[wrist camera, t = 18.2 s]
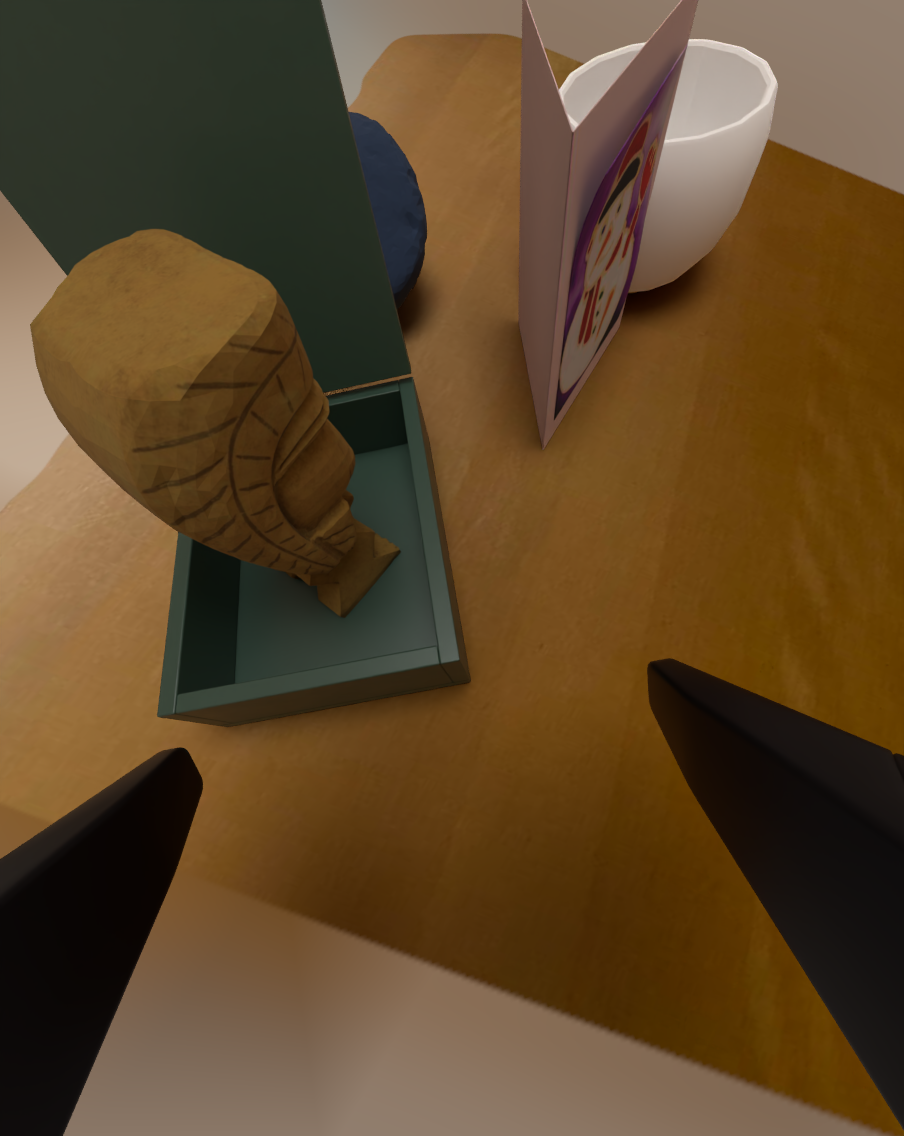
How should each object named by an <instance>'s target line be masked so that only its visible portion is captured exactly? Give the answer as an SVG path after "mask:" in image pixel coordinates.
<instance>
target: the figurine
mask: <svg viewBox="0 0 904 1136" xmlns="http://www.w3.org/2000/svg"><path fill="white" fill-rule="evenodd" d="M30 326H31V332H32V340H33V345H34V346H33V347H34V353H35V360H36V365H37V369H38V372H39V375H40V378H41V382H42V385H43V388H44V391H45V394H46V396H47V398H48V400H49V402H50V403H51V405H52V407H53V409H54V411H55V413H56V415H57V417H58V419H59V420H60V421H61V423H62V424H63V426H64V427H65V428H66V430H67V431H68V432H69V434H70V435H71V436H72V438H73V439H74V440H75V442H76V443H77V444H78V446H79V447H80V448H81V449H82V450H83V451H84V452H85V453H86V454H87V455H88V456H89V457H90V458H91V459H92V460H93V461H94V462H95V463H96V464H97V465H98V466H99V467H100V468H101V469H102V470H103V471H104V472H105V473H106V474H107V475H108V476H109V477H111V478H112V479H113V480H114V481H115V482H116V483H117V484H118V485H119V486H120V487H121V488H122V489H123V490H124V491H126V492H127V493H128V494H129V495H130V496H132V497H133V498H134V499H135V500H136V501H138V502H139V503H140V504H141V505H143V506H144V507H145V508H146V509H148V510H149V511H150V512H152V513H153V514H154V515H155V516H157V517H158V518H159V519H161V520H162V521H164V522H165V523H166V524H168V525H169V526H170V527H172V528H173V529H175V530H176V531H178V532H180V533H182V534H184V535H186V536H188V537H190V538H192V539H194V540H196V541H198V542H200V543H202V544H204V545H206V546H208V547H210V548H212V549H215V550H217V551H220V552H222V553H225V554H228V555H230V556H233V557H236V558H238V559H240V560H242V561H246V562H249V563H253V564H256V565H260V566H263V567H267V568H271V569H275V570H279V571H284V572H286V573H287V574H288V575H289V576H290V577H292V578H295V579H298V578H299V577H300V578H301V579H302V580H303V581H304V582H305V583H307V584H308V585H309V586H316V585H317V591H318V600H319V601H321V602H322V603H323V604H325V605H326V606H327V607H329V608H330V609H331V610H332V611H334V612H335V613H336V614H337V615H339V616H340V617H343V618H345V617H346V616H347V615H348V614H349V613H350V612H351V611H352V609H353V608H354V607H355V606H356V605H357V604H358V603H359V601H360V600H361V599H362V598H363V597H364V596H365V595H366V593H367V592H368V591H369V590H370V589H371V587H372V586H373V585H374V584H375V583H376V581H377V580H378V579H379V578H380V577H381V576H382V574H383V573H384V572H385V571H386V569H387V568H388V567H389V565H390V564H391V563H392V561H393V560H394V559H395V558H396V557H397V556H398V555H399V554H400V552H401V551H400V549H399V548H398V547H397V546H395V545H394V544H393V543H390V542H389V541H388V540H387V539H386V538H381V537H380V536H379V535H378V534H377V533H376V534H375V532H374V531H373V530H372V529H371V528H369V527H367V526H366V525H364V524H362V523H361V522H359V521H358V520H356V519H355V518H353V516H352V513H351V510H350V508H351V505H352V502H353V500H354V497H353V495H352V494H351V493H350V492H349V491H347V490H346V488H347V486H348V484H349V482H350V478H351V476H352V474H353V471H354V467H355V455H354V452H353V450H352V448H351V447H350V446H349V444H348V443H347V442H346V441H345V439H344V438H343V437H342V435H341V434H340V432H339V431H338V430H337V429H336V428H335V427H334V426H333V425H332V423H331V422H330V421H329V420H328V419H327V417H328V415H329V400H328V399H327V397H326V396H325V395H324V393H323V392H322V389H321V387H320V386H319V384H318V382H317V381H316V380H315V379H314V378H313V371H312V368H311V365H310V362H309V360H308V357H307V354H306V352H305V349H304V347H303V344H302V342H301V339H300V337H299V334H298V332H297V330H296V327H295V325H294V322H293V320H292V318H291V315H290V313H289V311H288V308H287V306H286V305H285V303H284V302H283V300H282V298H281V297H280V295H279V294H278V292H277V291H276V289H275V288H274V287H273V285H272V284H271V282H270V281H269V280H267V279H266V278H265V277H263V276H262V275H260V274H258V273H257V272H255V271H253V270H251V269H248V268H246V267H244V266H243V265H241V264H238V263H236V262H234V261H231V260H228V259H226V258H223V257H221V256H220V255H217V254H215V253H213V252H211V251H209V250H207V249H205V248H203V247H201V246H200V245H198V244H197V243H195V242H193V241H191V240H189V239H186V238H184V237H183V236H181V235H179V234H176V233H174V232H171V231H167V230H164V229H148V230H141V231H136V232H135V233H134V234H132V235H131V236H130V237H126V238H123V239H119V240H117V241H115V242H112V243H110V244H108V245H105V246H104V247H102V248H100V249H98V250H96V251H94V252H92V253H90V254H89V255H88V256H86V257H85V258H84V259H82V260H81V261H80V262H78V263H77V264H75V266H74V267H73V269H72V270H71V272H70V273H69V275H68V276H67V278H66V279H65V280H64V281H63V282H62V283H61V284H60V285H59V286H58V287H57V289H56V291H55V293H54V295H53V296H52V298H51V299H50V300H49V301H48V303H47V304H46V305H45V306H44V308H43V309H42V310H41V312H40V313H39V314H38V315H37V317H36V318H35V319H34V320H33V322H32V323H31V324H30Z"/></svg>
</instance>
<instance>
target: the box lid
mask: <svg viewBox="0 0 904 1136" xmlns="http://www.w3.org/2000/svg"><path fill="white" fill-rule="evenodd" d="M0 191H1V192H2V193H3V195H4V196H5V197H6V198H7V200H9V202H10V203H11V205H12V206H13V207H14V208H15V210H16V211H17V212H18V214H19V215H20V216H21V217H22V219H23V220H24V221H25V222H26V224H27V225H28V226H29V228H30V229H31V230H32V231H33V233H34V234H35V235H36V237H37V238H38V239H39V240H40V242H41V243H42V244H43V245H44V247H45V248H46V249H47V251H48V252H49V253H50V254H51V255H52V257H53V258H54V259H55V261H56V262H57V263H58V265H59V266H60V267H61V268H62V270H63V271H64V272H65V273H66V275H67V276H68V275H69V273H70V272H71V270H72V269H73V267H74V266H75V264H77V263H78V262H80V261H81V260H82V259H84V258H85V257H86V256H88V255H89V254H90V253H92V252H94V251H96V250H98V249H100V248H102V247H104V246H105V245H108V244H110V243H112V242H115V241H117V240H119V239H123V238H126V237H130V236H131V235H132V234H134V233H135V232H136V231H141V230H148V229H164V230H167V231H171V232H174V233H176V234H179V235H181V236H183V237H184V238H186V239H189V240H191V241H193V242H195V243H197V244H198V245H200V246H201V247H203V248H205V249H207V250H209V251H211V252H213V253H215V254H217V255H220V256H221V257H223V258H226V259H228V260H231V261H234V262H236V263H238V264H241V265H243V266H244V267H246V268H248V269H251V270H253V271H255V272H257V273H258V274H260V275H262V276H263V277H265V278H266V279H267V280H269V281H270V282H271V284H272V285H273V287H274V288H275V289H276V291H277V292H278V294H279V295H280V297H281V298H282V300H283V302H284V303H285V305H286V306H287V308H288V311H289V313H290V315H291V318H292V320H293V322H294V325H295V327H296V330H297V332H298V334H299V337H300V339H301V342H302V344H303V347H304V349H305V352H306V354H307V357H308V360H309V362H310V365H311V368H312V371H313V378H314V379H315V380H316V381H317V382H318V384H319V386H320V387H321V389H322V392H323V393H324V392H329V391H334V390H338V389H343V388H347V387H352V386H356V385H361V384H365V383H370V382H374V381H379V380H384V379H388V378H393V377H397V376H402V375H406V374H411V366H410V362H409V358H408V354H407V349H406V345H405V341H404V337H403V333H402V329H401V325H400V321H399V317H398V313H397V309H396V304H395V300H394V296H393V292H392V288H391V284H390V280H389V276H388V272H387V268H386V263H385V259H384V255H383V251H382V247H381V243H380V239H379V235H378V231H377V227H376V223H375V218H374V214H373V210H372V206H371V202H370V198H369V194H368V190H367V186H366V182H365V178H364V173H363V169H362V165H361V161H360V157H359V153H358V149H357V145H356V141H355V137H354V133H353V128H352V124H351V120H350V116H349V112H348V108H347V104H346V100H345V96H344V92H343V88H342V84H341V79H340V76H339V71H338V67H337V63H336V59H335V55H334V51H333V47H332V43H331V38H330V34H329V30H328V26H327V22H326V18H325V14H324V10H323V6H322V2H321V0H0Z"/></svg>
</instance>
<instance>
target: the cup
mask: <svg viewBox="0 0 904 1136" xmlns="http://www.w3.org/2000/svg"><path fill="white" fill-rule="evenodd" d="M644 45H645V43H639V44H633V45H628V46H625V47H622V48H619V49H617V50H614V51H611V52H608V53H605V54H602V55H600V56H597V57H595V58H593V59H592V60H590V61H588V62H587V63H585V64H584V65H582V66H581V67H579V68H578V69H576V70H575V71H573V72H572V73H570V75H569V76H568V78H567V79H566V81H565V82H564V83H563V85H562V86H561V88H560V89H559V92H560V95H561V98H562V101H563V103H564V106H565V109H566V112H567V115H568V118H569V120H570V123H571V126H572V129H573V131H574V129H575V128H576V127H577V126H578V125H579V123H580V122H581V121H582V120H583V119H584V117H585V116H586V115H587V114H588V113H589V111H590V110H591V109H592V108H593V106H594V105H595V104H596V103H597V102H598V100H599V99H600V98H601V97H602V96H603V94H604V93H605V92H606V91H607V89H608V88H609V87H610V86H611V85H612V83H613V82H614V81H615V80H616V79H617V77H618V76H619V75H620V74H621V73H622V71H623V70H624V69H625V68H626V66H627V65H628V64H629V63H630V62H631V60H632V59H633V58H634V57H635V56H636V54H637V53H638V52H639V51H640V50H641V48H642V47H643V46H644ZM777 87H778V84H777V80H776V78H775V76H774V74H773V73H772V71H771V69H770V67H769V65H768V63H767V62H766V61H765V60H763V59H761V58H760V57H758V56H756V55H755V54H753V53H751V52H750V51H748V50H746V49H744V48H743V47H738V46H734V45H730V44H725V43H721V42H716V41H712V40H706V39H703V40H702V39H689V41H688V46H687V49H686V53H685V57H684V61H683V65H682V70H681V74H680V78H679V82H678V86H677V90H676V94H675V99H674V103H673V107H672V111H671V115H670V119H669V123H668V128H667V132H666V136H665V140H664V144H663V148H662V152H661V157H660V161H659V165H658V169H657V173H656V177H655V181H654V186H653V190H652V194H651V197H650V201H649V205H648V209H647V213H646V218H645V222H644V227H643V233H642V238H641V244H640V249H639V254H638V259H637V263H636V268H635V271H634V275H633V278H632V282H631V285H630V289H629V291H628V293H635V292H638V291H648V290H651V289H654V288H657V287H659V286H662V285H665V284H667V283H670V282H673V281H674V280H676V279H677V278H678V277H679V276H681V275H682V274H683V273H685V272H686V271H687V270H688V269H690V268H691V267H692V266H693V265H695V264H696V263H697V262H698V261H699V260H701V259H702V258H703V257H704V256H705V255H707V254H708V253H709V252H710V251H711V250H712V249H713V248H714V246H715V245H716V244H717V242H718V241H719V239H720V238H721V236H722V235H723V234H724V232H725V231H726V229H727V228H728V227H729V225H730V224H731V222H732V221H733V220H734V218H735V217H736V215H737V214H738V212H739V210H740V208H741V205H742V203H743V200H744V198H745V195H746V193H747V190H748V188H749V185H750V183H751V181H752V178H753V176H754V173H755V171H756V168H757V166H758V163H759V161H760V158H761V156H762V153H763V150H764V147H765V145H766V142H767V139H768V136H769V132H770V127H771V122H772V116H773V110H774V104H775V99H776V93H777Z"/></svg>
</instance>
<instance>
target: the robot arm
mask: <svg viewBox="0 0 904 1136" xmlns="http://www.w3.org/2000/svg"><path fill="white" fill-rule="evenodd" d="M647 674H648V692H649V702H650V706H651V709H652V712H653V714H654V716H655V718H656V720H657V722H658V724H659V726H660V728H661V730H662V732H663V734H664V736H665V738H666V740H667V743H668V745H669V747H670V749H671V751H672V753H673V755H674V757H675V759H676V761H677V763H678V765H679V767H680V769H681V771H682V773H683V775H684V777H685V779H686V781H687V783H688V785H689V787H690V789H691V790H692V792H693V794H694V796H695V797H696V799H697V801H698V802H699V804H700V805H701V807H702V809H703V810H704V812H705V813H706V815H707V817H708V818H709V820H710V821H711V823H712V825H713V826H714V828H715V829H716V831H717V833H718V834H719V836H720V837H721V839H722V841H723V842H724V844H725V845H726V847H727V849H728V850H729V852H730V853H731V855H732V856H733V858H734V860H735V861H736V863H737V864H738V866H739V868H740V869H741V871H742V872H743V874H744V876H745V877H746V879H747V880H748V882H749V884H750V885H751V887H752V888H753V890H754V892H755V893H756V895H757V896H758V898H759V900H760V901H761V903H762V904H763V906H764V908H765V909H766V911H767V912H768V914H769V916H770V917H771V919H772V920H773V922H774V924H775V925H776V927H777V928H778V930H779V932H780V933H781V935H782V936H783V938H784V940H785V941H786V943H787V944H788V946H789V948H790V949H791V951H792V952H793V954H794V956H795V957H796V959H797V960H798V962H799V963H800V965H801V967H802V968H803V970H804V971H805V973H806V975H807V976H808V978H809V979H810V981H811V983H812V984H813V986H814V987H815V989H816V991H817V992H818V994H819V995H820V997H821V999H822V1000H823V1002H824V1003H825V1005H826V1007H827V1008H828V1010H829V1011H830V1013H831V1015H832V1016H833V1018H834V1019H835V1021H836V1023H837V1024H838V1026H839V1027H840V1029H841V1031H842V1032H843V1034H844V1035H845V1037H846V1039H847V1040H848V1042H849V1043H850V1045H851V1047H852V1048H853V1050H854V1051H855V1053H856V1055H857V1056H858V1058H859V1059H860V1061H861V1063H862V1064H863V1066H864V1067H865V1069H866V1070H867V1072H868V1074H869V1075H870V1077H871V1078H872V1080H873V1082H874V1083H875V1085H876V1086H877V1088H878V1090H879V1091H880V1093H881V1094H882V1096H883V1098H884V1099H885V1101H886V1102H887V1104H888V1106H889V1107H890V1109H891V1110H892V1112H893V1114H894V1115H895V1117H896V1118H897V1120H898V1122H899V1123H900V1125H901V1126H902V1128H903V1130H904V756H903V755H900V754H897V753H896V754H894V755H893V754H892V752H891V751H890V750H888V749H886V748H883V747H881V746H879V745H876V744H874V743H871V742H869V741H867V740H864V739H862V738H860V737H857V736H855V735H852V734H850V733H848V732H845V731H843V730H841V729H838V728H836V727H833V726H831V725H829V724H826V723H824V722H822V721H819V720H817V719H814V718H812V717H810V716H807V715H805V714H803V713H800V712H798V711H795V710H793V709H791V708H788V707H786V706H784V705H781V704H779V703H776V702H774V701H772V700H769V699H767V698H765V697H762V696H760V695H757V694H755V693H753V692H750V691H748V690H746V689H743V688H741V687H738V686H736V685H734V684H731V683H729V682H727V681H724V680H722V679H719V678H717V677H715V676H712V675H710V674H708V673H705V672H703V671H700V670H698V669H696V668H693V667H691V666H689V665H686V664H684V663H681V662H679V661H677V660H674V659H670V658H668V659H663V660H657V661H652V662H650V663H649V664H648V668H647ZM202 790H203V781H202V777H201V775H200V773H199V771H198V769H197V767H196V766H195V764H194V762H193V760H192V758H191V756H190V754H189V752H188V751H187V750H186V749H184V748H174V749H169V750H163V751H161V752H159V753H157V754H156V755H154V756H153V757H151V758H150V759H148V760H147V761H145V762H144V763H142V764H141V765H139V766H138V767H136V768H135V769H133V770H132V771H130V772H129V773H127V774H126V775H125V776H123V777H122V778H120V779H119V780H117V781H116V782H114V783H113V784H111V785H110V786H108V787H107V788H105V789H104V790H102V791H101V792H99V793H98V794H96V795H95V796H93V797H92V798H90V799H89V800H87V801H86V802H84V803H83V804H81V805H80V806H79V807H77V808H76V809H74V810H73V811H71V812H70V813H68V814H67V815H65V816H64V817H62V818H61V819H59V820H58V821H56V822H55V823H53V824H52V825H50V826H49V827H47V828H46V829H44V830H43V831H41V832H40V833H38V834H37V835H35V836H34V837H33V838H31V839H30V840H28V841H27V842H25V843H24V844H22V845H21V846H19V847H18V848H16V849H15V850H13V851H12V852H10V853H9V854H7V855H6V856H4V857H3V858H1V859H0V1136H63V1134H64V1132H65V1129H66V1127H67V1125H68V1123H69V1120H70V1118H71V1116H72V1113H73V1111H74V1109H75V1106H76V1104H77V1102H78V1099H79V1097H80V1095H81V1092H82V1090H83V1088H84V1085H85V1083H86V1081H87V1078H88V1076H89V1074H90V1071H91V1069H92V1067H93V1064H94V1062H95V1060H96V1057H97V1055H98V1053H99V1050H100V1048H101V1046H102V1043H103V1041H104V1039H105V1036H106V1034H107V1032H108V1029H109V1027H110V1024H111V1022H112V1020H113V1018H114V1015H115V1013H116V1011H117V1008H118V1006H119V1004H120V1001H121V999H122V997H123V994H124V992H125V989H126V987H127V985H128V982H129V980H130V978H131V976H132V973H133V971H134V969H135V966H136V964H137V961H138V959H139V957H140V954H141V952H142V950H143V948H144V945H145V943H146V940H147V938H148V936H149V934H150V931H151V929H152V927H153V924H154V922H155V919H156V917H157V915H158V913H159V910H160V908H161V905H162V903H163V901H164V898H165V896H166V894H167V892H168V889H169V887H170V884H171V882H172V879H173V877H174V874H175V872H176V869H177V866H178V863H179V860H180V857H181V854H182V851H183V848H184V845H185V842H186V839H187V836H188V833H189V830H190V827H191V824H192V821H193V818H194V815H195V812H196V809H197V806H198V803H199V800H200V797H201V794H202Z"/></svg>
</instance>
